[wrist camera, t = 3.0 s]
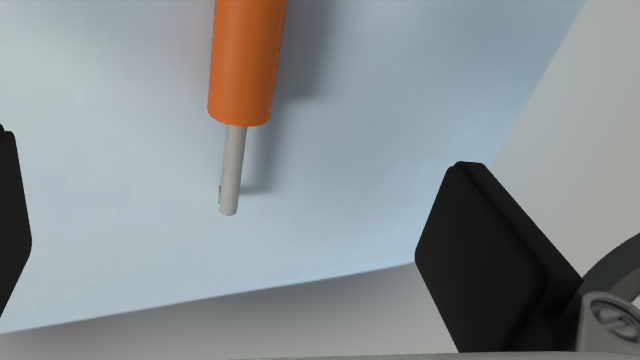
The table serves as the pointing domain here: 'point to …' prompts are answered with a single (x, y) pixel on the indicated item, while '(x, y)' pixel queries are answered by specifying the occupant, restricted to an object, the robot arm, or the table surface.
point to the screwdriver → (242, 79)
